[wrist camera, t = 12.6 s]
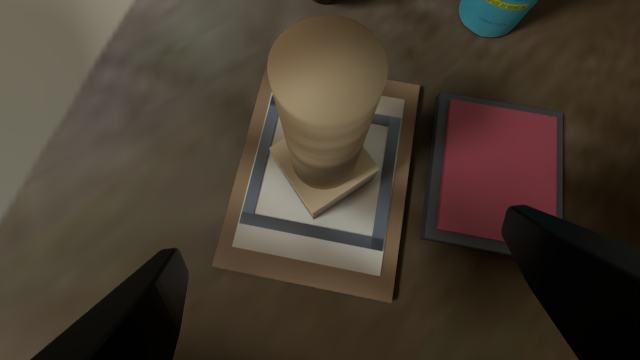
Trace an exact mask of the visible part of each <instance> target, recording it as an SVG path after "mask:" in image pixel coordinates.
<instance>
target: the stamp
mask: <svg viewBox="0 0 640 360" xmlns="http://www.w3.org/2000/svg"><path fill="white" fill-rule="evenodd" d="M267 72H268V78H269V82H270V86H271V89H272V93H273V97H274V100H275V104H276V107H277V111H278V115H279V118H280V122H281V125H282V129H283V133H284V136H285V138H284V139H283V140H281V141H280V142H278V143H276V144H275V145H273V146H271V147H270V148H269V150H270V152H271V154H272V156H273V159H274V161H275V163H276V164H277V166H278V167H279V169H280V170H281V172H282V173H283V175H284V176H285V178H286V179H287V181H288V182H289V184H290V185H291V187H292V188H293V190H294V191H295V193H296V194H297V196H298V197H299V199H300V200H301V202H302V203H303V205H304V206H305V208H306V209H307V211H308V212H309V214H310V215H311V217H312V218H313V220H314V219H315V218H317V217H318V216H320V215H321V214H323V213H324V212H326V211H327V210H329V209H330V208H332V207H333V206H335V205H336V204H338V203H339V202H341V201H342V200H344V199H345V198H347V197H348V196H350V195H351V194H353V193H354V192H356V191H357V190H359V189H360V188H362V187H363V186H365V185H366V184H368V183H369V182H371V181H372V180H373V179H374V177H375V176H376V174H377V173H378V171H379V169H380V168H379V167H378V166H377V164H376V163H375V162H374V160H373V159H372V158H371V156H370V155H369V154H368V152H367V151H366V150H365V148H364V147H363V144H364V141H365V138H366V136H367V133H368V130H369V128H370V125H371V122H372V119H373V117H374V114H375V111H376V109H377V106H378V103H379V100H380V98H381V95H382V92H383V90H384V87H385V84H386V81H387V77H388V60H387V56H386V53H385V50H384V48H383V46H382V44H381V42H380V41H379V40H378V38H377V37H376V36H375V35H374V34H373V33H372V32H371V31H370V30H369V29H368V28H367V27H365V26H364V25H362V24H360V23H359V22H357V21H354V20H352V19H349V18H346V17H342V16H337V15H318V16H313V17H308V18H305V19H303V20H300V21H298V22H296V23H294V24H293V25H291V26H290V27H288V28H287V29H286V30H285V31H283V32H282V34H281V35H280V36H279V37H278V38H277V40H276V41H275V42H274V44H273V46H272V48H271V50H270V53H269V57H268V62H267Z"/></svg>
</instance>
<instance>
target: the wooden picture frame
mask: <svg viewBox="0 0 640 360" xmlns="http://www.w3.org/2000/svg"><path fill="white" fill-rule="evenodd" d="M267 62H268V60H267ZM419 89H420V85H415V84H409V83H404V82H398V81H392V80H387V81H386V84H385V87H384V90H383V92H382V95H381V98H380V100H379V103H378V106H377V109H376V111H375V114H374V117H373V119H372V122H371V125H370V128H369V130H368V133H367V136H366V138H365V141H364V144H363V147H364V148H365V150H366V151H367V152H368V154H369V155H370V156H371V158H372V159H373V160H374V162H375V163H376V164H377V166H378V167H379V168H380V169H379V171H378V173H377V174H376V176H375V177H374V179H373V180H372V181H371V182H369V183H368V184H366V185H365V186H363V187H362V188H360V189H359V190H357V191H356V192H354V193H353V194H351V195H350V196H348V197H347V198H345V199H344V200H342V201H341V202H339V203H338V204H336V205H335V206H333V207H332V208H330V209H329V210H327V211H326V212H324V213H323V214H321V215H320V216H318V217H317V218H315V219H314V220H313V218H312V217H311V215H310V214H309V212H308V211H307V209H306V208H305V206H304V205H303V203H302V202H301V200H300V199H299V197H298V196H297V194H296V193H295V191H294V190H293V188H292V187H291V185H290V184H289V182H288V181H287V179H286V178H285V176H284V175H283V173H282V172H281V170H280V169H279V167H278V166H277V164H276V163H275V161H274V159H273V156H272V154H271V152H270V150H269V148H270V147H271V146H273V145H275V144H276V143H278V142H280V141H281V140H283V139H284V138H285V136H284V133H283V129H282V125H281V122H280V118H279V115H278V111H277V107H276V104H275V100H274V97H273V93H272V89H271V86H270V82H269V78H268V72H267V64H266V67H265V71H264V75H263V79H262V82H261V86H260V90H259V93H258V97H257V101H256V105H255V108H254V112H253V116H252V119H251V123H250V127H249V130H248V134H247V138H246V142H245V145H244V149H243V153H242V156H241V160H240V164H239V168H238V171H237V175H236V179H235V182H234V186H233V190H232V193H231V197H230V201H229V205H228V208H227V212H226V216H225V219H224V223H223V227H222V231H221V234H220V238H219V242H218V245H217V249H216V253H215V257H214V260H213V264H212V266H213V267H217V268H222V269H227V270H232V271H237V272H242V273H247V274H252V275H257V276H262V277H266V278H271V279H276V280H281V281H286V282H291V283H296V284H301V285H306V286H310V287H315V288H320V289H325V290H330V291H335V292H340V293H345V294H350V295H354V296H359V297H364V298H369V299H374V300H379V301H384V302H389V303H392V298H393V290H394V282H395V274H396V267H397V259H398V251H399V244H400V236H401V228H402V220H403V213H404V205H405V197H406V189H407V182H408V174H409V166H410V158H411V151H412V143H413V135H414V127H415V120H416V112H417V104H418V96H419Z"/></svg>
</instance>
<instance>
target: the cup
mask: <svg viewBox="0 0 640 360" xmlns="http://www.w3.org/2000/svg"><path fill="white" fill-rule="evenodd" d="M313 1H315V2H318V3H331V2H333V1H335V0H313Z"/></svg>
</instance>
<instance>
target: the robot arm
mask: <svg viewBox="0 0 640 360" xmlns="http://www.w3.org/2000/svg"><path fill="white" fill-rule="evenodd" d="M501 234H502V237H503V239H504V241H505V243H506V245H507V247H508V249H509V251H510V252H511V254H512V256H513V258H514V260H515V262H516V263H517V265H518V267H519V269H520V271H521V273H522V275H523V276H524V278H525V280H526V282H527V283H528V285H529V287H530V288H531V290H532V291H533V293H534V294H535V296H536V297H537V299H538V300H539V302H540V303H541V305H542V306H543V308H544V309H545V311H546V312H547V314H548V315H549V317H550V318H551V319H552V321H553V322H554V324H555V325H556V327H557V328H558V330H559V331H560V333H561V334H562V336H563V337H564V339H565V340H566V341H567V343H568V344H569V346H570V347H571V349H572V350H573V352H574V353H575V355H576V356H577V358H578V359H579V360H640V249H637V248H635V247H632V246H630V245H627V244H625V243H622V242H620V241H617V240H614V239H612V238H609V237H607V236H604V235H602V234H599V233H597V232H594V231H591V230H589V229H586V228H584V227H581V226H579V225H576V224H574V223H571V222H568V221H566V220H563V219H561V218H558V217H556V216H553V215H551V214H548V213H545V212H543V211H540V210H538V209H535V208H533V207H530V206H528V205H514V206H510V207H508V208H507V210H506V213H505V217H504V221H503V224H502V228H501ZM187 284H188V269H187V267H186V264H185V262H184V259H183V257H182V255H181V252H180V250H179V249H177V248H170V249H163V250H160V251H159V252H158V253H157V254H155V255H154V256H153V257H152V258H151V259H150V260H148V261H147V262H146V263H145V264H144V265H142V266H141V267H140V268H139V269H138V270H136V271H135V272H134V273H133V274H132V275H130V276H129V277H128V278H127V279H126V280H124V281H123V282H122V283H121V284H120V285H119V286H117V287H116V288H115V289H114V290H113V291H111V292H110V293H109V294H108V295H107V296H105V297H104V298H103V299H102V300H101V301H99V302H98V303H97V304H96V305H95V306H94V307H92V308H91V309H90V310H89V311H88V312H86V313H85V314H84V315H83V316H82V317H80V318H79V319H78V320H77V321H76V322H74V323H73V324H72V325H71V326H70V327H69V328H67V329H66V330H65V331H64V332H63V333H61V334H60V335H59V336H58V337H57V338H55V339H54V340H53V341H52V342H51V343H49V344H48V345H47V346H46V347H45V348H43V349H42V350H41V351H40V352H39V353H38V354H36V355H35V356H34V357H33V358H32V359H30V360H173V356H174V352H175V349H176V345H177V341H178V337H179V333H180V328H181V322H182V316H183V310H184V303H185V297H186V290H187Z"/></svg>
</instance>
